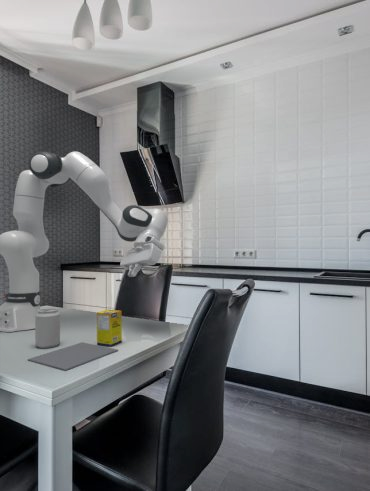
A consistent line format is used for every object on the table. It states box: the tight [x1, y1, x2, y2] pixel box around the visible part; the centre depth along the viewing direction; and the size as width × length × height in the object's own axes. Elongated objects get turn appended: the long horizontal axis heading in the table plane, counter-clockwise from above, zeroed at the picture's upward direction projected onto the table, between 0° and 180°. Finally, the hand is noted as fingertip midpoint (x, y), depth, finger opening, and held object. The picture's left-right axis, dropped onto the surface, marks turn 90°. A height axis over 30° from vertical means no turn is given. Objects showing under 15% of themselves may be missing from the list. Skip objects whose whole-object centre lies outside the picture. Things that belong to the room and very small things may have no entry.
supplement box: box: [96, 309, 123, 348], centre depth 113 cm, size 6×6×11 cm
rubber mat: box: [27, 341, 119, 372], centre depth 100 cm, size 20×16×1 cm
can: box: [34, 307, 61, 349], centre depth 111 cm, size 8×8×12 cm
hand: (131, 276), depth 124 cm, fingers closed
